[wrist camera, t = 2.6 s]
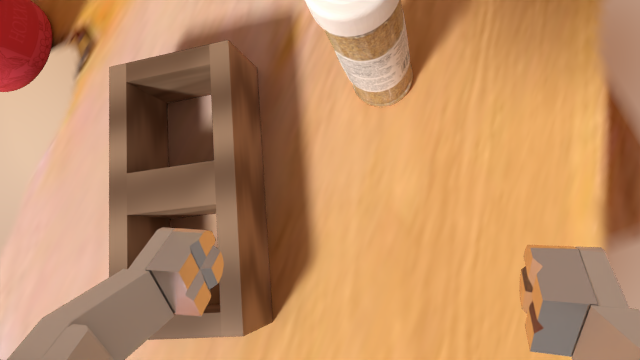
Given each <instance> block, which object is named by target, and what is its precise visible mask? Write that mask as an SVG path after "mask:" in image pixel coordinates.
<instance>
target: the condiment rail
mask: <svg viewBox="0 0 640 360" xmlns="http://www.w3.org/2000/svg"><path fill="white" fill-rule="evenodd" d="M206 95H211V99H212V122H213V146H214V160H212V161H206V162H199V163H193V164H186V165H179V166H173V167H168V132H167V103H170V102H175V101H180V100H185V99H190V98H196V97H201V96H206ZM215 213H216V217H217V240H218V250H220V251H221V254H222V256H223V262H224V267H223V273H222V276H221V278H220V281H219V287H220V304H212V305H207V306H206V308H205V310H204V312H203V314H202V316H191V315H178V314H174V317H173V318H171V319H170V320H169V321H168V322H167V323H166V324H165V325H163V326H162V327H161V328H160V329H159V330H158V331H157V332H156V333H154V334H153V335H152V336H151V337H150V338H149V339H148V340H154V339H181V338H209V337H236V336H245V335H247V334H249V333H251V332H253V331H255V330H257V329H259V328H261V327H263V326H266V325H268V324H270V323H272V322H273V316H272V300H271V284H270V268H269V252H268V236H267V220H266V204H265V188H264V172H263V156H262V140H261V124H260V108H259V92H258V76H257V68H256V67H255V66H254V65H253V64H252V63H251V62H250V61H249V60H248V59H247V58H246V57H245V56H244V55H243V54H242V53H241V52H240V51H239V50H238V49H237V48H236V47H235V46H234V45H233V44H232V43H231V42H230V41H229V40H226V41H222V42H217V43H213V44H208V45H204V46H200V47H195V48H191V49H186V50H182V51H178V52H173V53H169V54H164V55H160V56H156V57H151V58H147V59H142V60H138V61H134V62H129V63H125V64H120V65H116V66H112V67H109V277H111V276H112V275H114V274H116V273H117V272H119V271H121V270H122V269H128V268H129V267H130V266H131V264H132V263H133V262H134V260H135V259H136V258H137V256H138V255H139V254H140V252H141V251H142V250H143V248H144V247H145V246H146V244H147V243H148V242H149V240H150V239H151V238H152V236H153V235H154V234H155V232H156V231H157V230H158V229H160V228H162V227H165V228H170V219H172V218H181V217H189V216H198V215H207V214H215Z"/></svg>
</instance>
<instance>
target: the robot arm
mask: <svg viewBox="0 0 640 360" xmlns="http://www.w3.org/2000/svg"><path fill="white" fill-rule="evenodd" d="M215 241H216V239H215V237H214V235H213V233H212V231H208V230H197V229H183V228H165V227H162V228H160V229H158V230H157V231H156V232H155V234H154V235H153V236H152V238H151V239H150V240H149V242H148V243H147V244H146V246H145V247H144V248H143V250H142V251H141V252H140V254H139V255H138V256H137V258H136V259H135V260H134V262H133V263H132V264H131V266H130V267H129V268H128V269H122V270H121V271H119V272H117V273H116V274H114V275H112V276H111V277H109V278H108V279H106V280H104V281H103V282H101V283H99V284H98V285H96V286H94V287H93V288H91V289H89V290H88V291H86V292H85V293H83V294H81V295H80V296H78V297H76V298H75V299H73V300H71V301H70V302H68V303H66V304H65V305H63V306H61V307H60V308H58V309H57V310H55V311H53V312H52V313H50V314H48V315H47V316H45V317H43V318H42V319H41V320H40V321H39V322H38V324H37V325H36V326H35V327H34V328H33V330H32V331H31V332H30V333H29V334H28V335H27V337H26V338H25V339H24V340H23V341H22V343H21V344H20V345H19V346H18V347H17V348H16V350H15V351H14V352H13V353H12V354H11V355H10V357H9V358H8V359H7V360H125V359H126V358H127V357H128V356H129V355H131V354H132V353H133V352H134V351H135V350H136V349H137V348H138V347H140V346H141V345H142V344H143V343H144V342H145V341H146V340H148V339H149V338H150V337H151V336H152V335H153V334H154V333H156V332H157V331H158V330H159V329H160V328H161V327H162V326H163V325H165V324H166V323H167V322H168V321H169V320H170V319H171V318H173V317H174V314H178V315H191V316H202V314H203V312H204V310H205V308H206V306H207V304H208V302H209V300H210V299H211V297H212V296H211V292H210V289H211V288H213V287H214V286H215V285H217V284H218V283H219V281H220V278H221V276H222V273H223V267H224V262H223V256H222V254H221V251H220V250H218V249H217V248H216V247H215V246H214V243H215ZM524 260H525V265H526V266H525V267H524V268H523V269H521V275H520V290H519V291H520V300H521V306H522V309H523V310H524V311H525V312H526V313H527V318H526V323H525V328H526V333H527V338H528V344H529V349H530V351H532V352H539V353H547V354H555V355H562V356H570V357H572V360H640V311H639V310H638V309H632V308H629V306H628V304H627V301H626V299H625V297H624V294H623V292H622V290H621V287H620V285H619V283H618V280H617V278H616V276H615V273H614V271H613V268H612V266H611V264H610V261H609V259H608V257H607V254H606V252H605V251H604V250H603V249H602V248H598V247H570V246H544V245H527V247H526V249H525V253H524ZM0 360H1V359H0Z"/></svg>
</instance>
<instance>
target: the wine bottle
mask: <svg viewBox="0 0 640 360" xmlns="http://www.w3.org/2000/svg"><path fill="white" fill-rule="evenodd" d="M51 46H52V30H51V25H50V23H49V20H48V18H47V16H46V15H45V13H44V12H43V11H42V10H41V9H40V8H39V7H38V6H37V5H36V4H35V3H33V2H32V1H30V0H0V92H9V91H14V90H17V89H20V88H22V87H24V86H26V85H27V84H29V83H30V82H31V81H33V80H34V79H35V78H36V77H37V76H38V74H39V73H40V72H41V70H42V69H43V67H44V65H45V64H46V62H47V60H48V57H49V54H50V51H51Z"/></svg>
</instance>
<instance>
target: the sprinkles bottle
mask: <svg viewBox="0 0 640 360" xmlns="http://www.w3.org/2000/svg"><path fill="white" fill-rule="evenodd" d="M305 2H306V4H307V6H308V8H309V10H310V12H311V14H312V16H313V17H314V19H315V21H316V22H317V23H318V24H319V25H320V26H321V27H322V28H323V29H324V30H325V32H326V34H327V36H328V38H329V40H330V42H331V44H332V46H333V48H334V50H335V52H336V54H337V57H338V60H339V62H340V63H341V65H342V67H343V69H344V71H345V73H346V75H347V76H348V78H349V80H350V81H351V82H352V84H353V88H354V90H355V93H356V94H357V95H358V97H359V98H360V99H361V100H362V101H363V102H365V103H366V104H368V105H371V106H375V107H386V106H391V105H393V104H395V103H397V102H399V101H400V100H401V99H402V98H404V96H405V95H406V94H407V93H408V91H409V89H410V87H411V84H412V79H413V72H412V66H411V64H410V53H409V46H408V38H407V31H406V24H405V18H404V12H403V9H402V4H401V0H305Z"/></svg>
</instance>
